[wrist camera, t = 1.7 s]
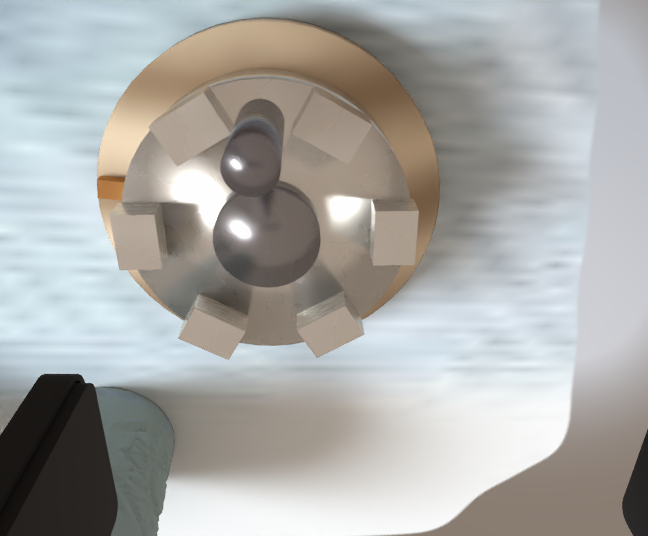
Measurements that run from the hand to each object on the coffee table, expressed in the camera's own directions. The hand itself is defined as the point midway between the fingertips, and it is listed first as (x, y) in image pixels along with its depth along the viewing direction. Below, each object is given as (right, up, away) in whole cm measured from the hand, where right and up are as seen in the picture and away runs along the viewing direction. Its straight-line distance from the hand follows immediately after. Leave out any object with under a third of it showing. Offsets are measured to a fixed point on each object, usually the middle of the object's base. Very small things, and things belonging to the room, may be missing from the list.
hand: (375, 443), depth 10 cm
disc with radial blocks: (-4, +6, +21) cm, 22 cm away
